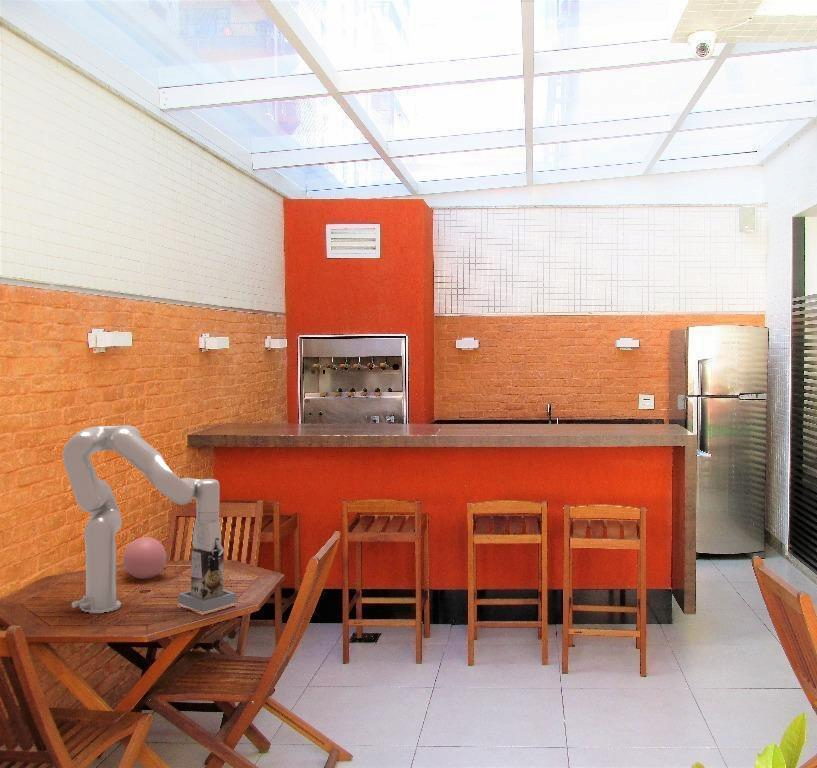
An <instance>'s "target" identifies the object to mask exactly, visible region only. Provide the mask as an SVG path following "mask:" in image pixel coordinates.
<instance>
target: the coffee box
mask: <svg viewBox="0 0 817 768" xmlns="http://www.w3.org/2000/svg"><path fill="white" fill-rule="evenodd" d="M213 550H215V549H213ZM224 552H225V550H224V551H223V553H222V554H221V556H220V559H219V570H217V571H213V572H211V571H210V560H211V556H210V552H205V551H202V550H198V549H197V550H194V549H193V550H191V569H190V571H191V572H190V574H191V576H190V577H191V578H190V579H191V581H190V583H191V584H190V591H191V596H192V597H195V598H198V599H201V600H208V599H212V598H215V597H219V596H222V595H223V589H224V567H225V566H224V560H225V559H224V558H225V557H224V555H225V553H224ZM213 554H214V555H215V552H213Z"/></svg>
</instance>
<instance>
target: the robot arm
mask: <svg viewBox="0 0 817 768" xmlns="http://www.w3.org/2000/svg"><path fill="white" fill-rule="evenodd" d="M105 451H107V452H108V451H115V452H116V453H117V454H118V455H120V456H121V457H122V458H124V460H126V461H127V462H129V463H130V464H131V465H132V466H133V467H135V468H136V469H137V470H138V471H140V472H141V473H142V475H144V476H145V478H146V479H147V480H148V481H149V482H150V483H151V484H152V485H153V486H154V488H156V490H158V491H159V492H160V493H161V494H162V495H164V496H165V497H166V498H167V499H168V500H170V501H171V502H173V503H174V504H176V505H179V506H180V505H181V506H184V505H187V504H190V502H191V501H192V500H195V501H196V517H195V520H194V524H193V532H192V541H191V544H192V547H193V550H197V549H198V550H202V551H205V552H210V556H211V560H210V571H211V572H213V571H217V570H219V559H220V556H221V554H222V553H223V551H224V552H225V549H224V548H223V546H222V530H221V523H220V491H221V489H220V486H221V485H220V482H219V480H217V479H215V478H202V479H201V478H200V479H198V478H194V477H193V478H192V477H183V478H180V476H178V475H177V474H175V473H174V471H172V470H171V469H170V468H169V466H168V465H167V463H166V461H165V459H164V456H163V455H162V454H161V453H160V452H159V451H158V450H157V449H155V448H154V447H153V446H152V445H151V444H149V442H147V441H146V440H144V439H143V438H142V434H141V431H140V430H139V429H138V428H137V427H136V426H133V425H130V424H128V425H126V424H125V425H124V424H123V425H110V426H109V425H105V426H91V427H87V428H84V429H83V430H82V429H81V430H80V431H78V432H76V433H75V434H74V435H73V436H72V437H70V439H69V440H68V441H66V444H65V445H64V448H63V451H62V462H63V466H64V469H65V472H66V474H67V477H68V480H69V484H70V486H71V489H72V492H73V495H74V498H75V500H76V504H77V506H78V508H79V509H81V510H82V511H84V512H87V513H88V514H89V515H90V518H89V519H88V521H87V522H86V524H85V527H84V531H83V536H84V538H83V539H84V546H85V595H82V598H81V599H80V600H75V601H72V602H71V607H72V608H73V609H74V608H75V609H76V608H77V607H79V608H80V610H81V611H82V612H83V611H84V613H86V612H89V613H88V614H105V613H104V612H107V613H110V611H111V612H114V610H115V611H117V610H119V609H120V608H121V607H122V602H121V601H120V600H119V599H117V545H116V535H117V533H118V532H119V531H120V529H121V528H122V525H123V520H122V519H123V518H122V515H121V514H122V513H121V512H120V508H119V507H118V503H117V500H116V498H115V495H114V492H113V489H112V488H111V486H110V485H109V483H108V482H107V481H105V480H103V479H100V478H98V476H97V471H96V469H95V466H94V465H93V463H92V461H91V456H92V455H93V454H95V453H97V452H105ZM213 549H215V550H213ZM213 552H215V555H214V554H213Z"/></svg>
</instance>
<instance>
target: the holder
mask: <svg viewBox="0 0 817 768" xmlns="http://www.w3.org/2000/svg"><path fill="white" fill-rule="evenodd" d="M236 596H237V593H236V592H233V591H230V590H227V589H225V588H223V595H222V596H219V597H215V598H212V599H208V600H201V599H198V598H195V597H192V596H191V590H188V591H187V590H186V591H183V592H180V593H178V606H179V605H181V606H184V607H187V608H191V609H195V610H198V611H201V612H206V611H209V610H213V609H216V608H219V607H223V606H226V605H228V604H231V603H234V602H236V603H237V597H236Z"/></svg>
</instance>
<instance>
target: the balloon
mask: <svg viewBox="0 0 817 768" xmlns="http://www.w3.org/2000/svg"><path fill="white" fill-rule="evenodd" d="M122 558H123V559H122V560H123V566H124V568H125V570H126V572H127V573H128V574H129V575H130V576H131V577H133V578H136V579H140V580H148V579H152V578H154V577H156V576H158V575H159V574H160V573H161V572H162V570H164V567H165V565H166V563H167V552H166V549H165V547H164V546H163V544H162V543H161V541H159V540H158V539H156V538H154V537H148V536H143V537H139V538H136V539H134V540H133V541H132V542H130V543H129V544H128V545H127V547H126V549H125V550H124V552H123V556H122Z"/></svg>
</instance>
